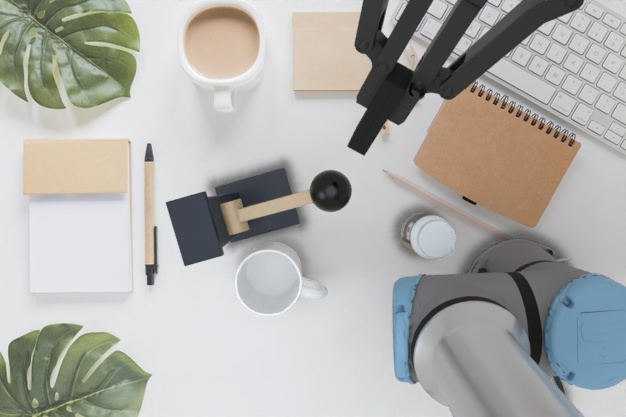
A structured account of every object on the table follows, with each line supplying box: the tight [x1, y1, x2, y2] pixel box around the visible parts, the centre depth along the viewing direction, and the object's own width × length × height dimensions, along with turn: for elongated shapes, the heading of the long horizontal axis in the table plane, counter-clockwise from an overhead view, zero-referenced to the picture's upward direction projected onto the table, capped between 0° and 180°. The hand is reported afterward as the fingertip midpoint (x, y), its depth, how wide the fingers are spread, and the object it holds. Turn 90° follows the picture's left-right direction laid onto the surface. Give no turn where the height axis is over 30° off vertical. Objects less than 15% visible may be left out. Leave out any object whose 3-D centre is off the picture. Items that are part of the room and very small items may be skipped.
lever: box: [220, 169, 353, 235], centre depth 49 cm, size 13×4×4 cm, turn 105°
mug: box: [234, 240, 329, 317], centre depth 72 cm, size 12×8×10 cm
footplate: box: [214, 167, 301, 244], centre depth 76 cm, size 10×8×1 cm
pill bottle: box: [400, 212, 457, 260], centre depth 72 cm, size 6×6×10 cm
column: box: [165, 190, 240, 267], centre depth 62 cm, size 4×6×27 cm, turn 16°
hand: (360, 140), depth 41 cm, fingers closed
